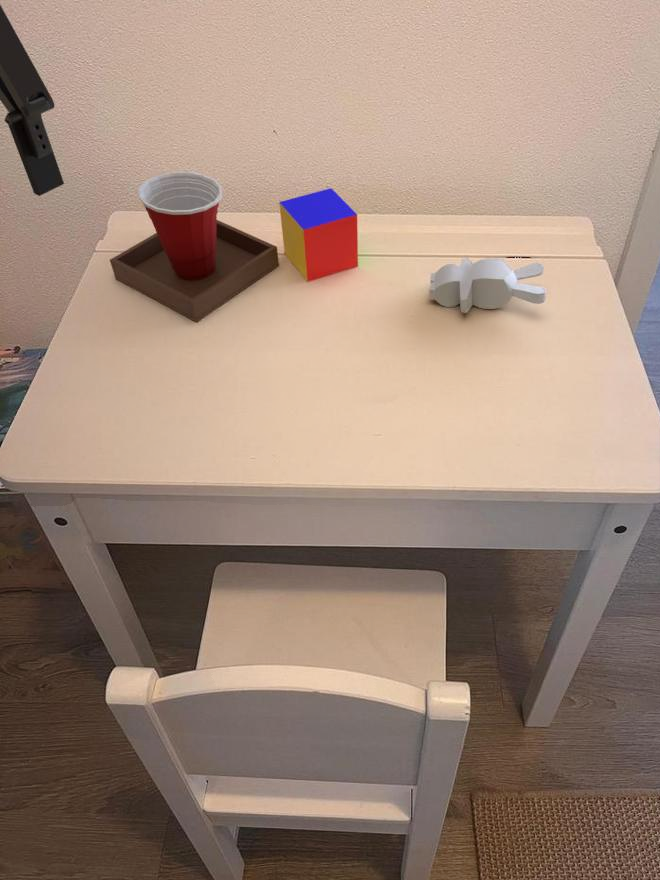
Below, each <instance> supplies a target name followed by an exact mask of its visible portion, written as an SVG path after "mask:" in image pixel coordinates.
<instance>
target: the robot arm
mask: <svg viewBox="0 0 660 880" xmlns="http://www.w3.org/2000/svg"><path fill="white" fill-rule="evenodd" d="M0 103H2V105H3V106H4V108H5V109H6V111H7V113H6V115H5V118H4V120H3V121H4V122H5V123H6V124H7V126H8V128H9V131H10V134H11V137H12V139H13V141H14V144H15V147H16V150H17V152H18V155H19V157H20V160H21V162H22V165H23V168H24V170H25V173H26V176H27V178H28V181H29V184H30V187H31V189H32V192H33V194H34V195H36V196H39V197H40V196H42V195H45V194H47V193H48V192H51V191H53V190H54V189H55V190H56V189H57V188H59V187H61V186H63V185H65V183H64V179H63V176H62V174H61V171H60V168H59V164H58V162H57V158H56V156H55V152H54V150H53V147H52V143H51V141H50V138H49V135H48V131H47V129H46V127H45V123H44V121H43V120H44V119H43V117H42V114H44V113H45V112H48V111H51V110H53V109H55V102H54V99H53V97H52V95H51V93H50V92H49V90H48V88H47V87H46V84H45V83H44V80H43V79H42V77H41V76H40V73H39V72H38V70H37V69H36V67H35V65H34V63H33V61H32V60H31V57H30V56H29V53H28V52H27V50H26V48H25V47H24V45H23V43H22V42H21V39H20V37H19V36H18V34H17V32H16V30H15V29H14V27H13V25H12V23H11V22H10V19H9V18H8V16H7V14H6V12H5V10H4V8H3V7H2V5H1V4H0Z"/></svg>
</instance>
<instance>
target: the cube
mask: <svg viewBox="0 0 660 880" xmlns="http://www.w3.org/2000/svg"><path fill="white" fill-rule="evenodd" d="M279 214H280V222H281V223H280V224H281V232H282V242H283V251H284V255H285V256H286V257H287V258H288V260H289V261H290V262H291V263H292V265H293V266H294V267H295V269H296V270H297V271H298V272H299V273H300V274H301V276H302V277H303V278H304V279H305V281H306V282H311V281H314V280H318V279H321V278H324V277H328V276H330V275H333V274H336V273H340V272H343V271H346V270H350V269H353V268H357V267H359V243H358V240H359V239H358V238H359V237H358V214H357V212H356V211H355V210H354V209H352V208H351V207H350V205H349V204H347V202H346V201H345V200H344V199H343V198H342V197H341V196H340V195H339V194H338V193H337V192H336V191H335V190H334V189H333V188H332V187H330V188H326V189H322V190H319V191H315V192H312V193H311V192H310V193H308V194H304V195H299V196H297V197H292V198H290V199H286V200H282V201H281V200H280V201H279Z"/></svg>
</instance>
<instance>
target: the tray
mask: <svg viewBox="0 0 660 880" xmlns="http://www.w3.org/2000/svg"><path fill="white" fill-rule="evenodd" d="M109 263H110V265H111V269H112V272H113V275H114V278H115V280H117V281H119V282H121V283H123V284H124V285H126V286H128V287H129V288H132V289H134V290H136V291H137V292H139V293H141V294H143V295H144V296H147V297H149V298H150V299H152V300H154V301H156V302H157V303H160V304H161V305H163V306H166V308H169V309H170V310H172V311H175V312H176V313H178V314H180V315H181V316H184V317H185V318H188V319H189V320H191V321H193V322H195V323H198V322H199V321H201V320H203V319H204V318H205V317H207V316H208V315H209V314H211V313H213V312H214V311H215V310H217V309H219V308H220V307H222V305H224V304H225V303H227V302H229V301H230V300H232V299H233V298H234V297H236V296H238V295H239V294H240V293H241V292H243V291H245V290H246V289H248V288H249V287H250V286H252V285H254V284H255V283H256V282H258V281H259V280H261V278H263V277H265V276H266V275H268V274H269V273H271V272H272V271H273V270H275V269H276V268H278V267H280V262H279V253H278V246H277V245H274V244H271V243H269V242H267V241H265V240H262V239H261V238H259V237H256V236H254V235H252V234H249V233H247V232H246V231H244V230H243V231H242V230H241V229H239V228H236V227H234V226H232V225H229V224H227V223H225V222H224V221H220V220H218V219H217V226H216V265H215V270H214V271H213V273H212V274H211V275H209V276H208V277H206V278H203V279H200V280H185V279H182V278H180V277H178V275H177V274H176V273H175V271H174V270H173V268H172V266H171V263H170V261H169V259H168V256H167V255H166V253H165V251H164V249H163V246H162V244H161V242H160V239H159V237H158V235H157V232H156V233H154V234H152V235H150V236H148V237H147V238H145V239H143V240H141V241H140V242H138V243H136V244H135V245H133V246H131V247H129V248H128V249H126V250H124V251H123V252H120V253H119V254H117V255H115V256H114V257H112V258H111V259H109Z"/></svg>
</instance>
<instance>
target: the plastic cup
mask: <svg viewBox="0 0 660 880" xmlns="http://www.w3.org/2000/svg"><path fill="white" fill-rule="evenodd" d="M137 197H138V200H139V202H141V203H142V204H143V206H144V208H145V210H146V212H147V215H148V217H149V219H150V220H151V222H152V225H153V227H154V230H155V232H156V233H157V235H158V237H159V239H160V242H161V244H162V246H163V249H164V251H165V253H166V255H167V256H168V259H169V261H170V263H171V266H172V268H173V270H174V271H175V273H176V274H177V275H178V277H180V278H182V279H185V280H200V279H203V278H206V277H208V276H209V275H211V274H212V273H213V271H214V270H215V265H216V226H217V220H218V219H217V217H218V208H219V203H220V200H221V199H222V197H223V187H222V185H221V184H220V183H219V182H218V181H217V180H216V179H215V178H212V177H210V176H208V175H205V174H203V173H197V172H192V171H171V172H166V173H160V174H156V175H154V176H151V177H149V178H148V179H146V180H144V181H143V182H142V183H141V184H140V186H138V188H137Z"/></svg>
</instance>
